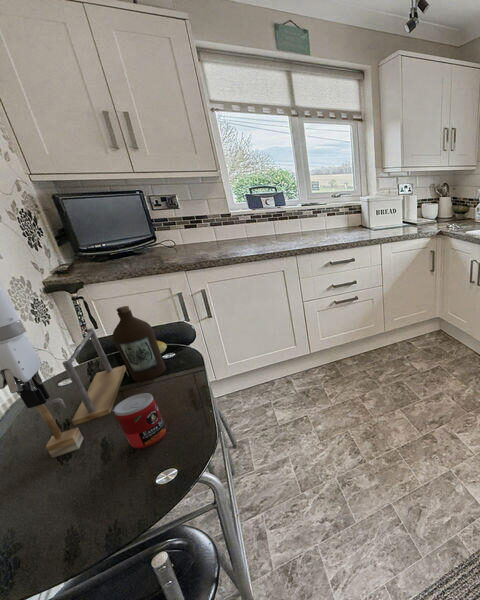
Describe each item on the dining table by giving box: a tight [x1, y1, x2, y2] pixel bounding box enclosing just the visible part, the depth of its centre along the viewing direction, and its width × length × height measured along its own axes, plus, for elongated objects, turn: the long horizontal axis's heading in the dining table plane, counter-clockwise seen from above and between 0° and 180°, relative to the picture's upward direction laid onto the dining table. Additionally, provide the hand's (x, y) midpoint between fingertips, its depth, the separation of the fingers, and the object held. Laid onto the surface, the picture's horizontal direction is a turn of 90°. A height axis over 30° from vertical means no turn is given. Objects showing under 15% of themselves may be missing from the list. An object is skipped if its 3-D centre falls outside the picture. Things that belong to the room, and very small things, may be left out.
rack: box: [62, 327, 127, 426], centre depth 101 cm, size 8×30×18 cm, turn 32°
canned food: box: [113, 392, 167, 450], centre depth 81 cm, size 8×8×11 cm
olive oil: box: [112, 305, 167, 383], centre depth 109 cm, size 11×11×25 cm
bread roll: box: [157, 340, 168, 354], centre depth 128 cm, size 8×9×4 cm
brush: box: [26, 383, 84, 459], centre depth 79 cm, size 6×4×20 cm
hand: (39, 402), depth 77 cm, fingers closed on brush, 1 cm apart
